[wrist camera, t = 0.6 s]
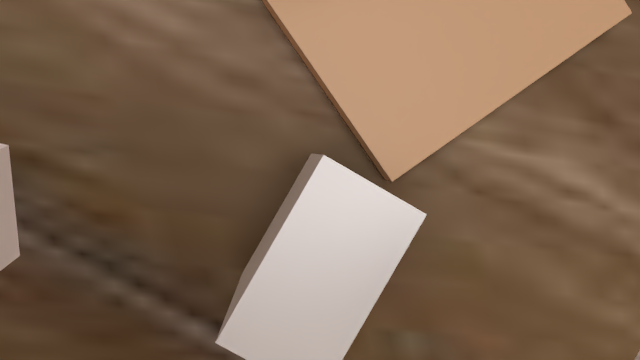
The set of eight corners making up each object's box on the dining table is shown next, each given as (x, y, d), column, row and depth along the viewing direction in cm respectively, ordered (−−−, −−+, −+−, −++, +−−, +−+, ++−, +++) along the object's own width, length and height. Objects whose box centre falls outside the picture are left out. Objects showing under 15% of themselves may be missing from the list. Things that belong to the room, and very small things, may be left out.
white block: (242, 273, 36) (215, 342, 23) (311, 153, 36) (323, 154, 23) (311, 311, 36) (323, 401, 23) (379, 193, 36) (430, 216, 23)
